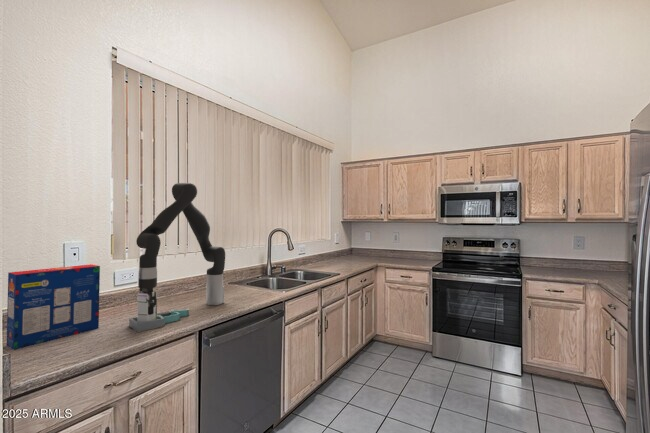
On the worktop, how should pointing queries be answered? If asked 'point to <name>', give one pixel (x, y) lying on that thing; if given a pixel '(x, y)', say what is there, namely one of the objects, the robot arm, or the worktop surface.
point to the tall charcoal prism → (164, 314)
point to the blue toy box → (51, 304)
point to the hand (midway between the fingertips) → (147, 312)
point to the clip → (171, 318)
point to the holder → (146, 324)
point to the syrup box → (145, 308)
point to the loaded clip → (181, 312)
